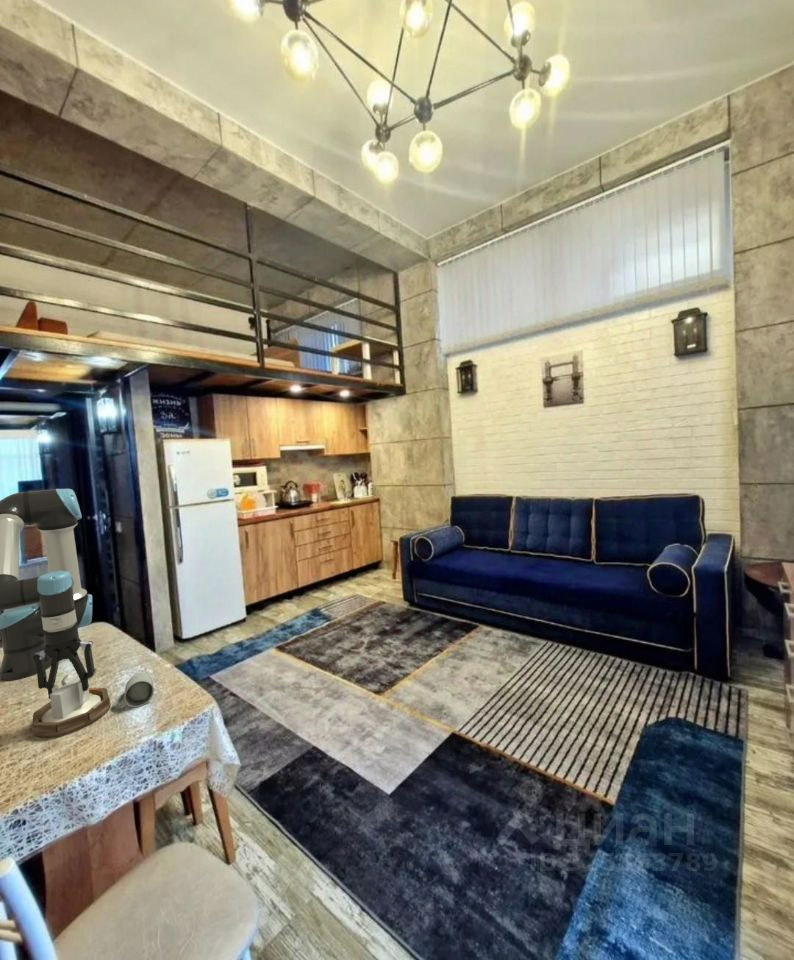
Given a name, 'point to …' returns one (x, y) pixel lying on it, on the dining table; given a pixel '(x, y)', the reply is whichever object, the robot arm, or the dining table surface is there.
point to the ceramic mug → (136, 691)
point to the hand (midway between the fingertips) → (70, 704)
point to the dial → (69, 703)
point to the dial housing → (73, 723)
